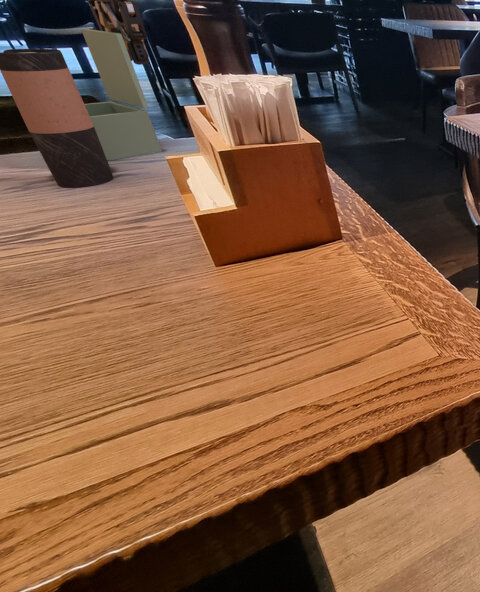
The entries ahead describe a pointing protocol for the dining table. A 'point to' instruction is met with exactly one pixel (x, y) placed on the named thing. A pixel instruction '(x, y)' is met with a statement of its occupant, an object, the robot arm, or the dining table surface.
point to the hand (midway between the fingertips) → (134, 62)
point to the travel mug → (55, 116)
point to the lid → (115, 67)
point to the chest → (123, 130)
